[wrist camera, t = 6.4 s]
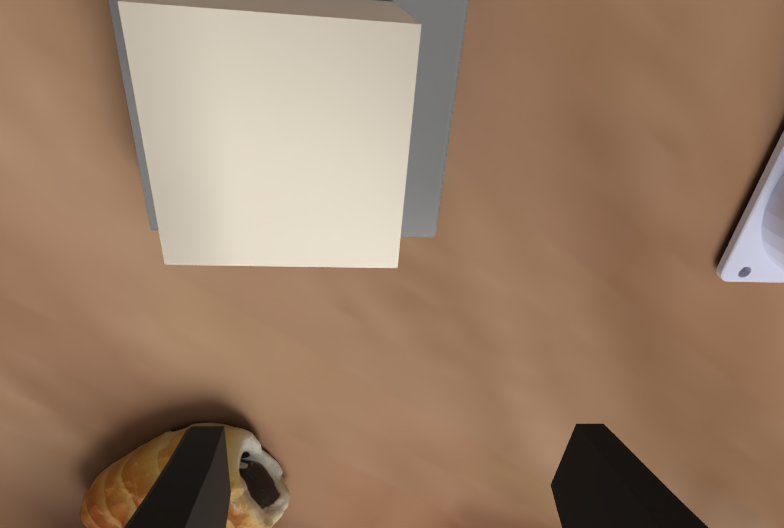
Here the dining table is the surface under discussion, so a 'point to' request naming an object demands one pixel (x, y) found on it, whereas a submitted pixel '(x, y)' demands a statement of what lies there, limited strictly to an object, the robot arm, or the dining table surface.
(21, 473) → the dining table surface
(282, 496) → the pastry
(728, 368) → the dining table surface
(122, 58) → the slate stand
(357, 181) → the ivory cube
